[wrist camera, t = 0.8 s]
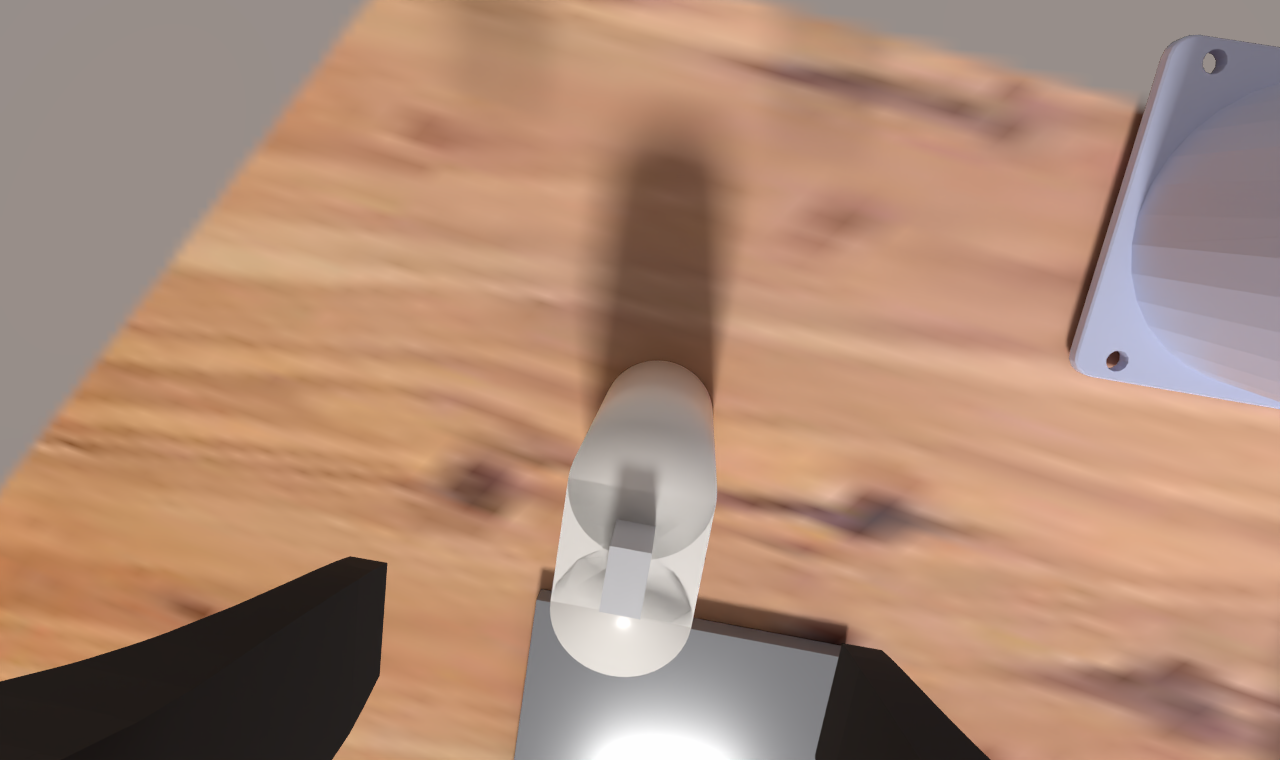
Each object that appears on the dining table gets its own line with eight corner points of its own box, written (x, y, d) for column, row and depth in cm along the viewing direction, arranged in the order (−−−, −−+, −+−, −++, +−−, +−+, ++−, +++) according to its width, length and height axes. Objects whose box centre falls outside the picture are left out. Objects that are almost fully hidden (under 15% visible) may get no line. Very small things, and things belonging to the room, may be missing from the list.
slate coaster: (845, 646, 21) (849, 658, 21) (781, 892, 24) (783, 909, 23) (541, 589, 22) (536, 599, 21) (505, 836, 24) (501, 852, 23)
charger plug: (722, 370, 20) (732, 454, 13) (684, 564, 21) (677, 727, 15) (611, 351, 20) (568, 424, 13) (582, 545, 21) (529, 698, 15)
